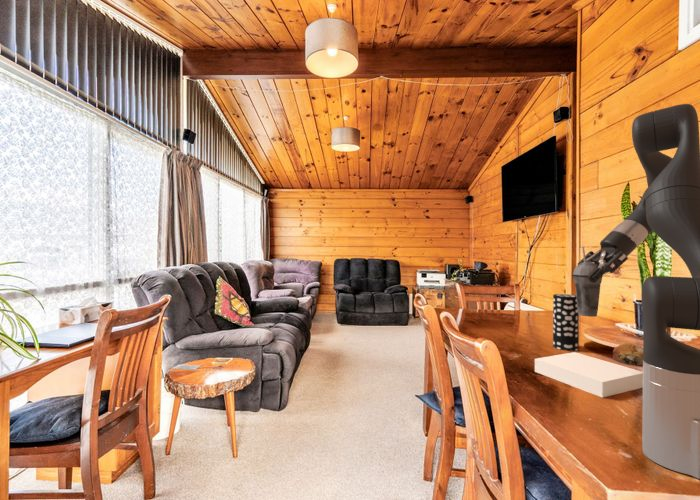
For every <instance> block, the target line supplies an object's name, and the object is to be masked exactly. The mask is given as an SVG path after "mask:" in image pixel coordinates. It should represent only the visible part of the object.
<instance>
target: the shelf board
mask: <svg viewBox="0 0 700 500" xmlns="http://www.w3.org/2000/svg"><path fill="white" fill-rule="evenodd" d="M534 372H535V373H537V374H539V375H543V376H545V377H547V378H550V379H553V380H555V381H558V382H561V383H562V384H566V385H568V386H571V387H573V388H577V389H579V390H582V391H583V392H587V393H589V394H592V395H594V396H597V397H600V398H602V399H603V398H607V397H611V396H614V395H618V394H619V395H620V394H622V393H623V394H624V393H626V392H631V391H636V390H639V389H643V370H638V369H634V368H630V367H627V366H625V365H624V366H623V365H620V364H617V363H614V362H611V361H607V360H603V359H599V358H596V357H593V356H589V355H586V354H584V353H583V354H582V353H579V352H576V351H571V352H568V353H562V354H560V353H559V354H555V355H550V356H543V357H537V358H534Z"/></svg>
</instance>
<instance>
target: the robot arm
mask: <svg viewBox="0 0 700 500" xmlns="http://www.w3.org/2000/svg"><path fill="white" fill-rule="evenodd" d="M633 119H634V120H633V121H632V125H631V138H632V144H633V147H634V150H635V153H636V156H637V158H638V160H639V162H640V164H641V166H642V168H643V170H644V173H645V176H646V183H647V188H646V189H645V191H644V192H643V194H642V196H641V198H640V200H639V202H638V204H637V205H636V207H635V208H634V209H633V211H632V212H630V214H629V215H628V216H627V217H625V219H624V220H623V221H622V222H620V223H619V224H617V225H616V226H615V227H614V228H613V229H612V230H611V231H610V232H609V233H608V234H607V235H606V236H605V237H604V238H603V239H602V240H601V241H600V243H599V244H600V245H599V246H600V249H599V250H597V251H595V252H594V251H593V250H590V251H589V252H588V253H587V254H585V258H586V262H592V263H595V264H596V265H598V268H599V269H596V270H594V271H593V272H592V273H591V274H590V275H589V276H588V279H589V280H590V281H591V282H592V283H595V282H596V281H597V280H598V279H599V278H600V277H602V276H603V277H604V275H607V274H608V273H610V274H612V273H615V272H616V271H617V270H618V269H619V268H620V267H621V266H622V265H624V263H625V262H626V261H627V260H628V259H629V257H628V256H630V254H631V253H632V252H633V251H635V250H636V249H637V248H638V247H639V246H640V245H641V244H642V243H643V242H644V241H645V239H646V238H647V236H649V235H650V234H651V233H652V232H654V234H655V235H656V236H658V237H659V239H661V240H662V241H663V242H664V243H665V244H666V245H668V247H670V249H672V250H673V251H674V252H675V253H676V254H678V256H679V257H680V258H681V259H682V261H683V263H684V265H686V267H687V269H688V271H689V273H690V275H691V277H689V276H688V277H686V276H664V275H663V276H662V275H661V276H659V275H658V276H656V275H655V276H654V275H652V276H648V277H646V279H645V280H644V282H643V283H642V286H641V295H640V296H641V311H642V312H641V313H642V327H643V328H642V330H643V333H642V334H643V336H642V337H643V338H642V339H643V341H642V343H643V344H642V345H643V346H642V347H643V366H642V372H643V388H642V415H641V416H642V417H641V418H642V420H641V421H642V424H641V425H642V429H641V431H642V434H641V435H642V436H641V441H642V443H641V444H642V448H641V449H642V453H643V454H644V455H645V457H646V458H648V459H649V460H651V461H652V462H654V463H656V464H658V465H660V466H661V467H663V468H666V469H669V470H671V471H675V472H677V473H681V474H684V475H689V476H691V477H694V478H696V479H698V480H700V348H697V347H694V346H691V345H689V344H686V343H684V342H682V341H679V340H678V339H676V338H675V337H673V336H671V335H669V334H668V333H667V328H671V329H673V328H674V329H681V330H682V329H683V330H690V331H693V330H694V331H700V126H699V125H700V124H699V117H698V112H697V109H696V108H695V107H694V106H693V105H692V104H690V103H682V104H675V105H673V106H672V105H671V106H668V107H665V108H661V109H657V110H654V111H649V112H645V113H642V114H639V115H638V116H636V117H635V118H633ZM673 149H676V151H675V154H674V155H673V157H671V156H669V155H667V154H666V153H662V151H666V150H673ZM582 262H584V258H582V259H580V261H578V263H577V265H579V264H580V263H582ZM571 277H572V278H573V279H574V276H573V273H572V274H571ZM603 277H602V278H603Z"/></svg>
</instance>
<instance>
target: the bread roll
mask: <svg viewBox="0 0 700 500" xmlns="http://www.w3.org/2000/svg"><path fill="white" fill-rule="evenodd" d="M612 358H613V360H614V361H615V362H618V363H620V364H621V363H622V364H623V365H624V364H625V365H629V366H639V367H641V366H642V367H643V346H641V345H639V344H637V343H632V342H623V343H621V344H619V345H617V346H615V347H614V349H613V350H612Z"/></svg>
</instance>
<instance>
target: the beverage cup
mask: <svg viewBox="0 0 700 500" xmlns="http://www.w3.org/2000/svg"><path fill="white" fill-rule="evenodd" d="M581 249H582V256H583V258H584V262H582V263H580V264H579V265H578V264H577V265H576V266H575V268H574V270H573V273H572V274H573V276H574V278H573V281H574V288H575V295H576V299H577V309H578V315H579V316H582V317H591V318H592V317H593V318H595V317H598V311H599V302H600V293H601V284H602V281H603V277H604V275H603V276H602V277H600V278H599V279H598V280H597V281H596V282H595V283H592V282H591V281H590V280H589V279H588V276H589V275H590V274H591V273H592V272H593V271H594V270H596V269H599V268H598V265H596V264H595V263H594V262H586V258H585V256H586V253H585V246H581ZM583 258H582V259H583Z"/></svg>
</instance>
